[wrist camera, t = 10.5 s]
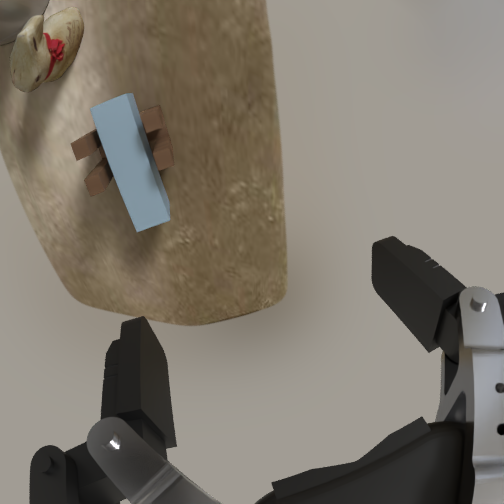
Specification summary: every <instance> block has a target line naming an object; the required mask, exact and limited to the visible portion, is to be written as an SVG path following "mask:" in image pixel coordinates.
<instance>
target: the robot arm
mask: <svg viewBox="0 0 504 504" xmlns="http://www.w3.org/2000/svg"><path fill="white" fill-rule="evenodd" d="M48 2H49V0H0V45H4V44H7V43H10V42H12V41H14V40H16V38H17V35H18V34H19V33H20V32H21V31H22V29H23V28H24V26H25V24H26V23H27V22H28V21H29V20H30V19H31V18H32V17H33V16H36V15H42V14H43V12H44V11H45V9H46V7H47V4H48ZM372 284H373V287H374V289H375V291H376V292H377V294H378V295H379V296H380V297H381V298H382V299H383V300H384V302H385V303H386V304H387V305H388V306H389V307H390V308H391V309H392V311H393V312H394V313H395V314H396V315H397V316H398V317H399V318H400V320H401V321H402V322H403V323H404V324H405V325H406V326H407V328H408V329H409V330H410V331H411V332H412V334H414V336H415V337H416V338H417V339H418V341H419V342H420V343H421V344H422V345H423V346H424V347H425V349H426V350H427V351H428V352H431V351H433V350H435V349H436V348H438V347H441V349H442V350H443V352H442V356H441V392H440V404H439V408H438V411H437V415H436V419H435V422H433V423H428V424H427V423H426V422H425V420H424V419H423V417H420V418H418V419H417V420H415V421H413V422H412V423H410V424H408V425H406V426H404V427H403V428H401V429H399V430H397V431H395V432H394V433H392V434H390V435H388V436H387V437H386V438H385V439H384V440H383V441H382V442H380V443H379V444H378V445H377V446H375V447H374V448H373V449H372V450H371V451H370V452H368V453H367V454H366V455H364V456H363V457H362V458H360V459H359V460H357V461H355V462H351V463H346V464H341V465H336V466H330V467H323V468H317V469H311V470H308V471H305V472H302V473H300V474H297V475H294V476H291V477H288V478H285V479H282V480H278V481H275V482H272V486H273V489H274V490H273V491H272V492H270V493H268V494H266V495H265V496H264V497H262V498H261V499H259V500H258V501H257V502H256V503H255V504H504V293H500V294H496V295H494V294H493V293H492V292H491V291H489V290H487V289H485V288H482V287H476V286H475V287H474V286H473V287H468V288H467V287H465V286H464V285H463V284H462V283H461V282H460V281H458V280H457V279H456V278H455V277H454V276H453V275H451V274H450V273H449V272H448V271H447V270H445V269H444V268H443V267H442V266H439V264H438V263H437V262H436V261H434V260H432V259H431V257H429V256H428V255H427V254H426V253H424V252H423V251H422V250H420V249H418V248H415V247H412V246H410V245H407V246H406V245H405V244H404V243H402V242H401V241H400V240H399V239H397V238H396V237H394V236H391V237H388V238H385V239H382V240H379V241H377V242H375V243H373V246H372ZM172 447H177V444H176V437H175V430H174V422H173V414H172V405H171V396H170V387H169V376H168V365H167V359H166V356H165V353H164V350H163V348H162V346H161V345H160V343H159V341H158V339H157V337H156V335H155V334H154V332H153V331H152V328H151V327H150V325H149V323H148V321H147V319H146V318H145V317H144V316H142V317H138V318H135V319H132V320H128V321H125V322H123V323H122V325H121V334H120V339H118V340H115V341H113V342H112V344H111V345H110V347H109V349H108V351H107V353H106V359H105V370H104V380H103V391H102V406H101V420H100V421H98V422H97V423H96V424H95V425H94V426H93V427H92V428H91V430H90V431H89V433H88V436H87V441H86V442H85V443H83V444H81V445H78V446H77V447H74V448H72V449H70V450H68V451H66V452H63V451H62V450H61V449H59V448H58V447H56V446H52V445H48V446H44V447H42V448H40V449H39V450H38V451H37V452H36V453H35V455H34V456H33V458H32V461H31V466H30V504H120V501H122V500H124V499H126V498H127V499H128V500H129V501H130V503H131V504H222V503H220V502H219V501H218V500H216V499H215V498H214V497H212V496H211V495H209V494H208V493H207V492H205V491H204V490H203V489H201V488H200V487H199V486H198V485H196V484H195V483H194V482H193V481H191V480H190V479H189V478H188V477H186V476H185V475H184V474H183V473H182V472H180V471H179V470H178V469H177V468H176V467H175V466H173V465H172V464H171V463H170V462H169V461H168V460H167V453H166V449H167V448H172Z"/></svg>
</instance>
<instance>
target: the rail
mask: <svg viewBox="0 0 504 504" xmlns="http://www.w3.org/2000/svg"><path fill="white" fill-rule="evenodd" d="M90 110H91V113H92V116H93V119H94V122H95V125H96V128H97V131H98V134H99V137H100V140H101V143H102V145H103V148H104V151H105V154H106V156H107V159H108V162H109V165H110V167H111V170H112V172H113V175H114V178H115V180H116V183H117V185H118V188H119V190H120V193H121V195H122V198H123V200H124V203H125V205H126V207H127V210H128V212H129V215H130V217H131V219H132V222H133V224H134V226H135V229H136V231H137V232H139V231H142V230H145V229H148V228H150V227H153V226H156V225H159V224H161V223H164V222H167V221H170V205H169V200H168V197H167V194H166V191H165V189H164V186H163V183H162V180H161V177H160V175H159V172H158V169H157V166H156V163H155V160H154V157H153V154H152V151H151V148H150V145H149V142H148V139H147V136H146V133H145V130H144V127H143V124H142V121H141V118H140V115H139V112H138V108H137V105H136V102H135V99H134V96H133V93H126V94H123V95H121V96H118V97H116V98H113V99H111V100H109V101H106V102H104V103H101V104H99V105H97V106H94V107H92V108H90Z"/></svg>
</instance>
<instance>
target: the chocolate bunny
mask: <svg viewBox="0 0 504 504" xmlns="http://www.w3.org/2000/svg"><path fill="white" fill-rule="evenodd" d="M43 22H44V16H42V15H36V16H33V17H32V18H31V19H30V20H29V21H28V22H27V23H26V24H25V26H24V28H23V29H22V31H21V32H20V33H19V34H18V35H17V38H16V41H15V43H14V47H13V50H12V54H11V56H10V69H11V76H12V82H13V84H14V86H15V87H16V88H18V89H19V90H21V91H23V92H30V91H33V90H34V89H36V88H37V87H39V86H40V84H41V83H42V82H49V81H54V80H56V79H57V78H59V77H61V76H62V75H63V73H64V72H65V70H66V69H67V68H68V67H69V66H70V65H71V63H72V62H73V60H74V58H75V56H76V54H77V51H78V48H79V47H80V42H81V40H82V37H83V32H84V23H83V20H82V18H81V15H80V12H79V10H78V9H77V8H75V7H70V8H67V9H65V10H63V11H60V12H58V13H56V14H54V15H52V16H50V17H49V18H48V19H47V20H46V21H45V22H44V23H43Z"/></svg>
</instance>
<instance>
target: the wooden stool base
mask: <svg viewBox="0 0 504 504" xmlns="http://www.w3.org/2000/svg"><path fill="white" fill-rule="evenodd" d="M139 115H140V118H141V121H142V124H143V127H144V130H145V133H146V136H147V139H148V142H149V145H150V148H151V151H152V154H153V157H154V158H155V161H156V164H157V167H158V170H159V171H160V170H163V169H165V168H168V167H171V166H174V158H173V147H172V144H171V140H170V137H169V134H168V131H167V127H166V124H165V121H164V117H163V114H162V110H161V107H160V105H159V106H156V107H153V108H150V109H147V110H144V111H141V112H139ZM71 146H72V149H73V152H74V154H75V157H76V160H77V161H78V160H80V159H82V158H84V157H87V156H89V155H91V154H92V153H93V152H94V151H96V150H97V149H98V148H99V150H100V153H101V156H102V160H101V161H100V162H99V164H98V165H97V166H96V167H95V168H94V169H93V170H92V172H91V173H90V174H89V175H88V176H87V177H86V179H85V180H84V181H85V183H86V186H87V188H88V191H89V193H90V196H94V195H96V194H99V193H101V192H103V191H105V190H106V188H107V186H108V184H109V183H110V181H111V179H112V177H113V176H114V175H113V172H112V170H111V167H110V165H109V162H108V159H107V156H106V154H105V151H104V148H103V145H102V143H101V140H100V137H99V134H98V131H97V129H95V130H93V131H91V132H90V133H88V134H86V135H84V136H83V137H81V138H79V139H78V140H76V141H74V142H73V143H71Z"/></svg>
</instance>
